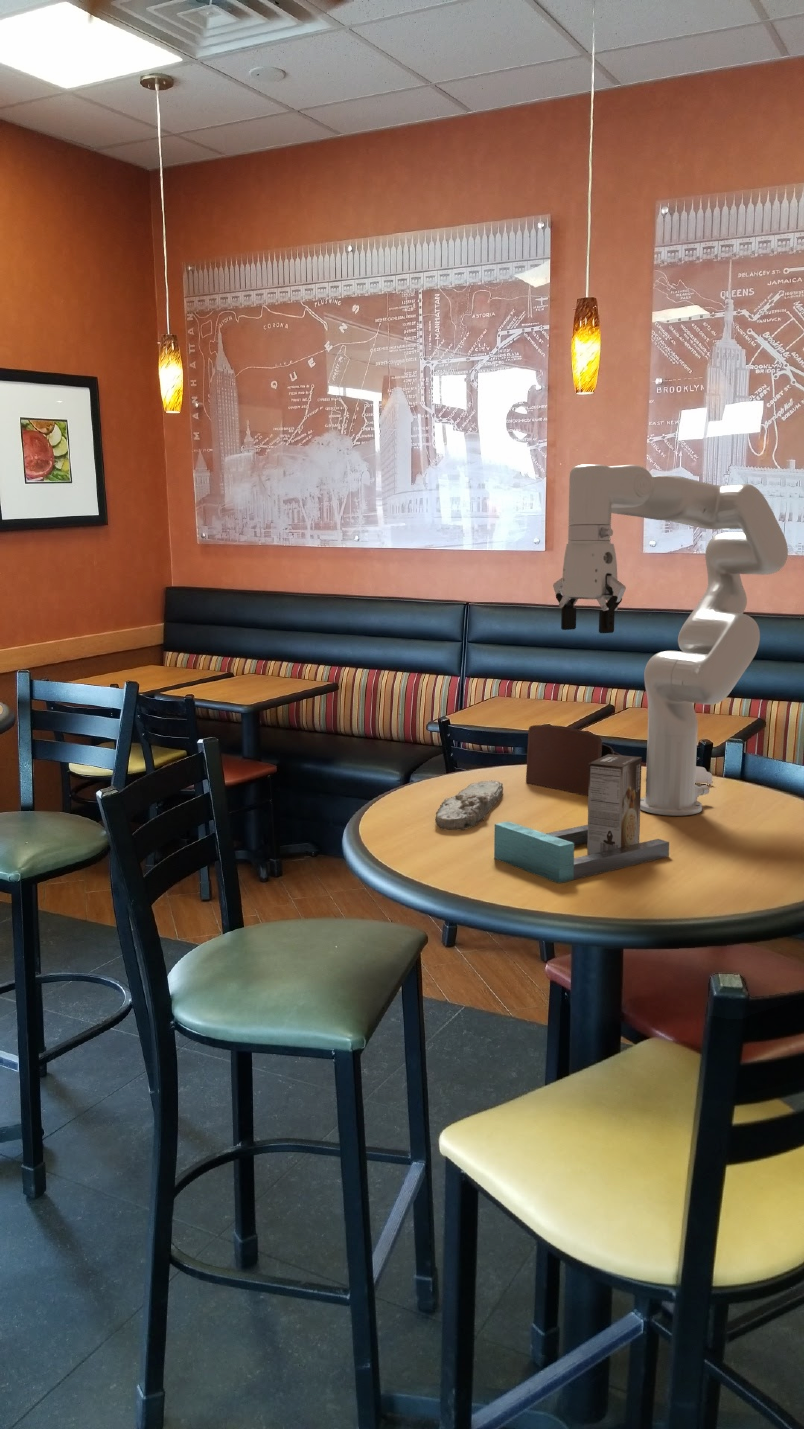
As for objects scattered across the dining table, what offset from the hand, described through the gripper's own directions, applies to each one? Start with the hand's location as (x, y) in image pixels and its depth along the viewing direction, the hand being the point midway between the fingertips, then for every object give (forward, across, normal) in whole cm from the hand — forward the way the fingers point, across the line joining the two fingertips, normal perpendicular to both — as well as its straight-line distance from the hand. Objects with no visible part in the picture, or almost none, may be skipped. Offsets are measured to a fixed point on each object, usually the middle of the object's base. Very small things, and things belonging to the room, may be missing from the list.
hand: (587, 631), depth 188 cm
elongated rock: (+37, +22, +9) cm, 44 cm away
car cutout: (+38, +15, -44) cm, 60 cm away
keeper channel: (+37, -14, +14) cm, 42 cm away
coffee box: (+37, -14, +6) cm, 40 cm away
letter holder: (+37, +25, -22) cm, 50 cm away
